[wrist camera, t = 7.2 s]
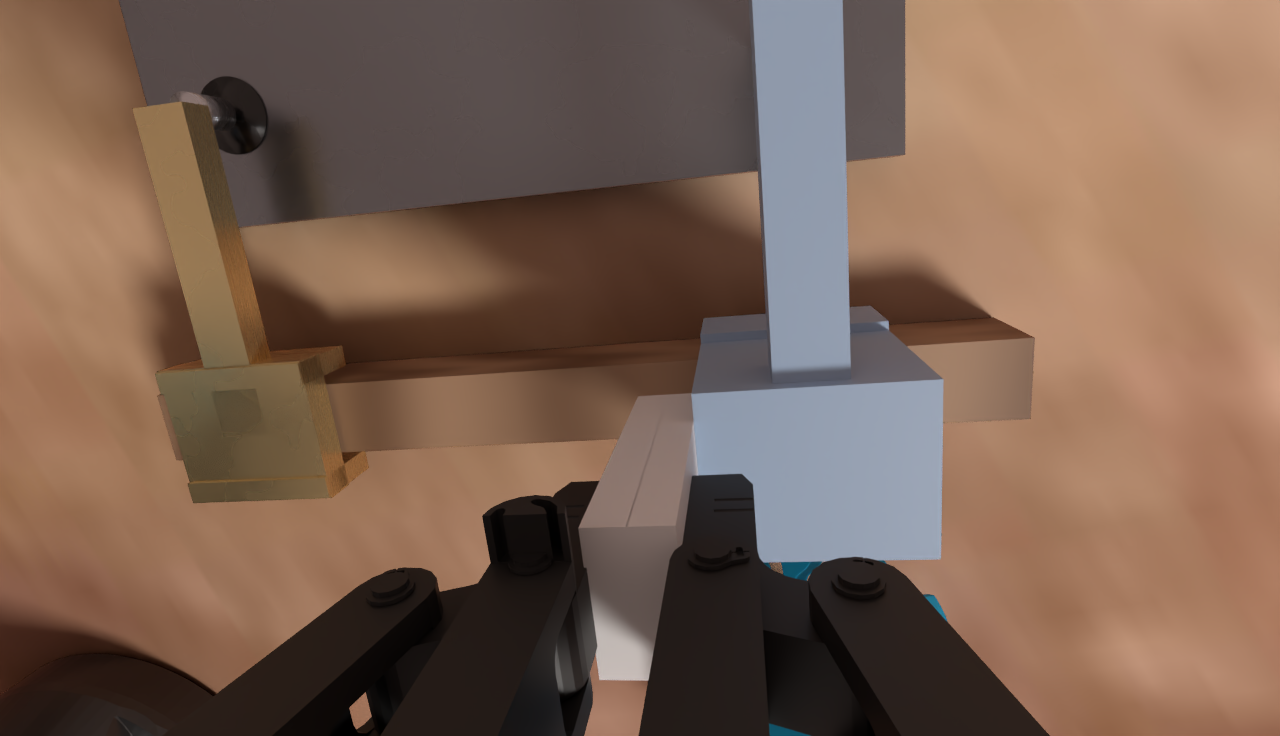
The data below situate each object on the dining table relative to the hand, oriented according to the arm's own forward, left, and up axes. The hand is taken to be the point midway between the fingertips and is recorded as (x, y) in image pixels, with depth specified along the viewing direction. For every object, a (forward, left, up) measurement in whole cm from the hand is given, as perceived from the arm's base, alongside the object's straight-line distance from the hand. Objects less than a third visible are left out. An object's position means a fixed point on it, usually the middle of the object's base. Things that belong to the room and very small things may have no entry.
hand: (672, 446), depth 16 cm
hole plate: (-5, +12, -7) cm, 15 cm away
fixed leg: (-14, +4, -5) cm, 16 cm away
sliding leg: (+3, +4, -5) cm, 7 cm away
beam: (-4, 0, -7) cm, 8 cm away
